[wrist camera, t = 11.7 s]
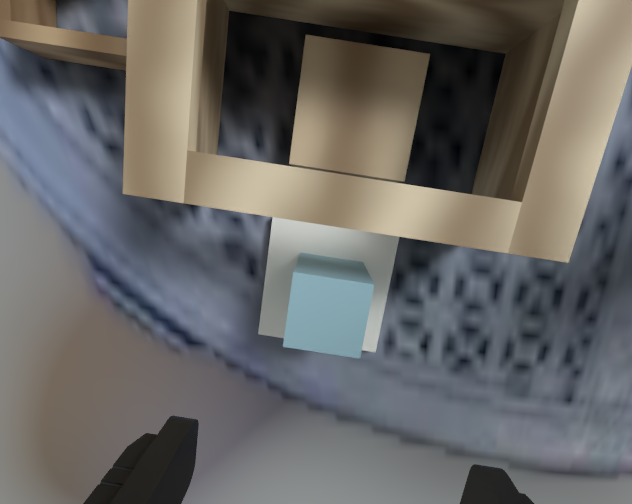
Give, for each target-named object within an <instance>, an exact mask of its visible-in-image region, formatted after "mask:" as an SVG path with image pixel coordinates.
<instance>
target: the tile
mask: <svg viewBox="0 0 632 504" xmlns="http://www.w3.org/2000/svg"><path fill="white" fill-rule="evenodd" d="M398 242H399V237H398V236H392V235H385V234H379V233H372V232H366V231H360V230H353V229H347V228H340V227H334V226H327V225H321V224H314V223H308V222H301V221H295V220H288V219H282V218H275V217H273V218H272V226H271V234H270V242H269V250H268V258H267V266H266V274H265V282H264V290H263V299H262V307H261V315H260V323H259V331H258V334H259V335H266V336H272V337H279V338H284V334H285V327H286V320H287V313H288V306H289V299H290V292H291V285H292V278H293V271H294V269H295V266H296V264H297V261H298V258H299V256H300V253H307V254H314V255H320V256H327V257H333V258H340V259H346V260H353V261H360V262H363V263H364V265H365V267H366V269H367V271H368V273H369V275H370V277H371V279H372V281H373V283H374V290H373V295H372V300H371V305H370V310H369V315H368V320H367V325H366V330H365V336H364V341H363V346H362V350H363V351H370V352H376V348H377V343H378V338H379V333H380V329H381V324H382V319H383V314H384V309H385V304H386V300H387V295H388V290H389V285H390V280H391V275H392V271H393V266H394V261H395V256H396V251H397V246H398Z"/></svg>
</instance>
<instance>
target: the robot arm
mask: <svg viewBox="0 0 632 504" xmlns="http://www.w3.org/2000/svg"><path fill="white" fill-rule="evenodd" d="M197 436H198V420H196V419H190V418H184V417H177V416H171V417H170V418H169V419H168V420H167V422H166V423H165V425H164V426H163V428H162V429H161V430H160V432H159V433H158V435H155V434H149V433H146V434H144V435H143V436H142V437H140V438H139V439H137V440H136V441H135V442H133V443H132V444H131V445H129V446H128V447H127V448H126V449H125V451H124V452H123V453H122V455H121V456H120V457H119V458H118V460H117V461H116V462H115V463H114V465H113V468H112V469H110V470H109V471H108V473H107V474H106V475H105V476H104V478H103V479H102V480H101V483H100V485H98V486H97V487H96V488H95V489H94V491H93V492H92V493H91V495H90V496H89V497H88V499H87V500H86V501H85V502H84V504H181V503H182V501H183V498H184V496H185V494H186V492H187V489H188V487H189V485H190V482H191V479H192V475H193V471H194V467H195V459H196V447H197ZM460 504H534V503H533V502H532V501H531V500H530V499H529V498H528V497H527V496H526V495H525V494H521V493H519V492H518V490H517V489H516V487H515V486H514V484H513V482H512V481H511V479H510V478H509V476H508V475H507V473H506V472H505V471H504V470H503V469H501V468H495V467H488V466H482V465H473V466H472V467H471V469H470V471H469V475H468V478H467V482H466V485H465V488H464V492H463V495H462V498H461V502H460Z"/></svg>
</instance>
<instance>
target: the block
mask: <svg viewBox="0 0 632 504" xmlns="http://www.w3.org/2000/svg"><path fill="white" fill-rule="evenodd" d="M373 290H374V283H373V281H372V279H371V277H370V275H369V273H368V271H367V269H366V267H365V265H364V263H363V262H360V261H353V260H346V259H340V258H333V257H327V256H320V255H314V254H307V253H300V256H299V258H298V261H297V264H296V266H295V269H294V271H293V278H292V285H291V292H290V299H289V306H288V313H287V320H286V327H285V334H284V342H283V347H287V348H294V349H300V350H307V351H313V352H320V353H327V354H333V355H340V356H346V357H353V358H359V359H360V356H361V351H362V346H363V341H364V336H365V330H366V325H367V320H368V315H369V310H370V305H371V300H372V295H373Z"/></svg>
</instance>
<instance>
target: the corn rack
mask: <svg viewBox="0 0 632 504" xmlns="http://www.w3.org/2000/svg"><path fill="white" fill-rule="evenodd" d="M0 38H2V39H4V40H6V41H8V42H10V43H13V44H15V45H17V46H19V47H21V48H23V49H26V50H28V51H30V52H32V53H34V54H36V55H39V56H41V57H43V58H48V59H54V60H61V61H67V62H73V63H80V64H86V65H93V66H99V67H106V68H112V69H118V70H125V71H126V60H127V39H125V38H119V37H112V36H106V35H99V34H93V33H87V32H80V31H74V30H67V29H61V28H57V14H56V0H0Z"/></svg>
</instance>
